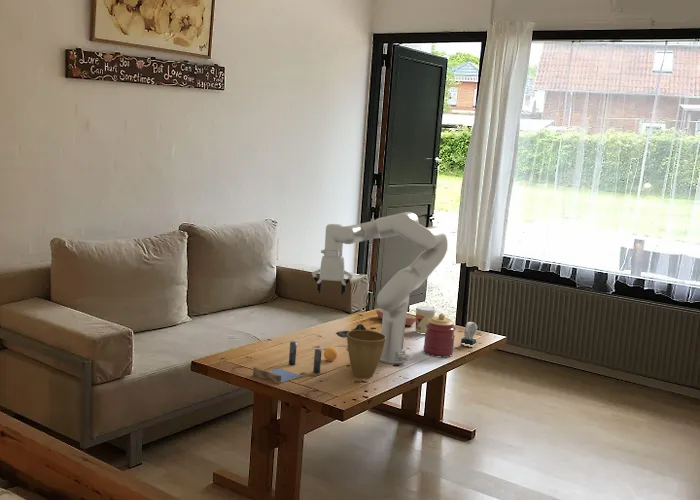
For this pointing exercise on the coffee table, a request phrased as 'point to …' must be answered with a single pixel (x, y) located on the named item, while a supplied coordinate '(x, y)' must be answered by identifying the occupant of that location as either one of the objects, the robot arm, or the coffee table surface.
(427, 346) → the canister
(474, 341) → the grey upright piece
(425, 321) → the coffee cup
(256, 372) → the backstop
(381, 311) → the anatomical model
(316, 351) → the post
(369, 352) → the plant pot
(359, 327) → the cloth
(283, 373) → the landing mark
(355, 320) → the coffee table surface
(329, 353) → the ball
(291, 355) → the post
